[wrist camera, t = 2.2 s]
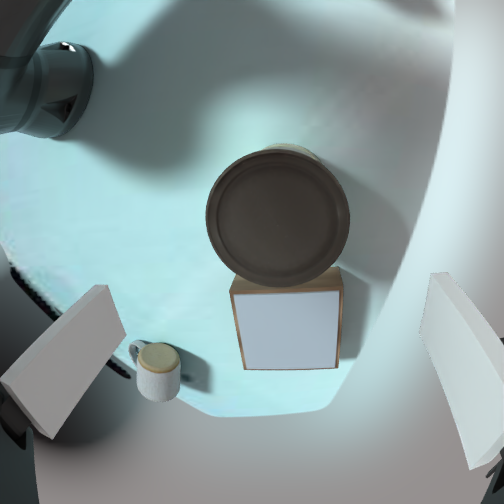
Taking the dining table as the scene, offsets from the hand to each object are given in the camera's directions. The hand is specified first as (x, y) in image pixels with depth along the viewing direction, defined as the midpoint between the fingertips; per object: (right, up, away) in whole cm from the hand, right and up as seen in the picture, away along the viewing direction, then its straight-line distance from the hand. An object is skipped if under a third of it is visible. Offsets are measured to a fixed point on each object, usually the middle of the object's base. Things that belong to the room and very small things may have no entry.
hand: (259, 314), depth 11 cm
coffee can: (+4, +10, +23) cm, 25 cm away
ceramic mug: (-16, -16, +37) cm, 43 cm away
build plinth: (+5, -6, +29) cm, 30 cm away
